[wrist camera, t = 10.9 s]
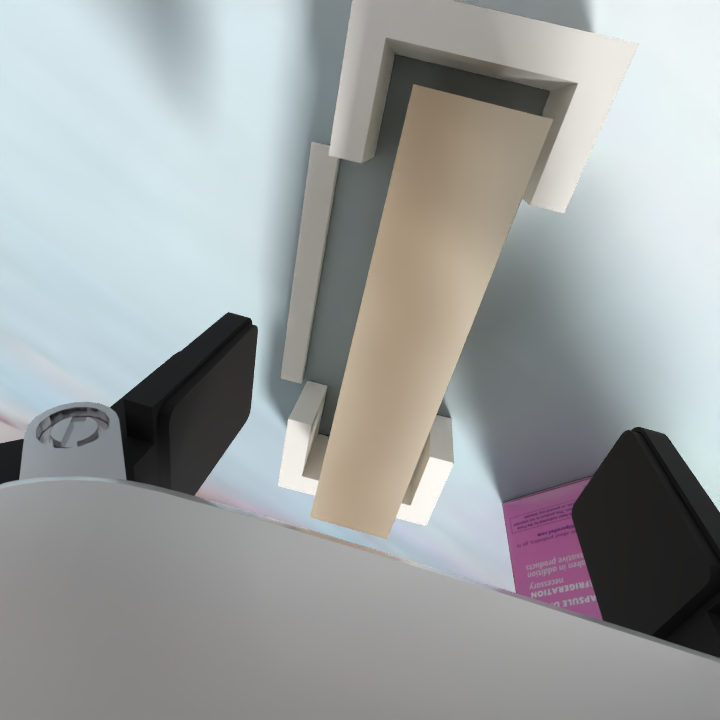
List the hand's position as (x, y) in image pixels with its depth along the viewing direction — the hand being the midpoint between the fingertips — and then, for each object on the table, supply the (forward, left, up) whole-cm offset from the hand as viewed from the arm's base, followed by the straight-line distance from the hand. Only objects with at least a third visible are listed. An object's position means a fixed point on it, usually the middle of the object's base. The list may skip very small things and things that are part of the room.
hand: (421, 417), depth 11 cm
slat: (+1, 0, -8) cm, 8 cm away
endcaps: (+1, 0, -8) cm, 8 cm away
